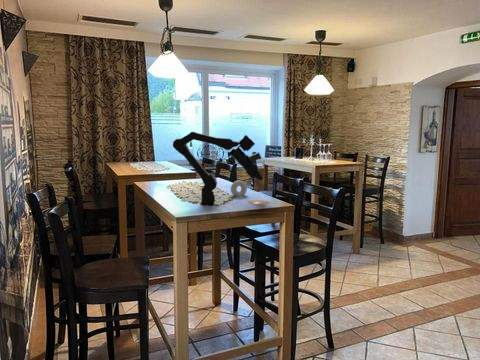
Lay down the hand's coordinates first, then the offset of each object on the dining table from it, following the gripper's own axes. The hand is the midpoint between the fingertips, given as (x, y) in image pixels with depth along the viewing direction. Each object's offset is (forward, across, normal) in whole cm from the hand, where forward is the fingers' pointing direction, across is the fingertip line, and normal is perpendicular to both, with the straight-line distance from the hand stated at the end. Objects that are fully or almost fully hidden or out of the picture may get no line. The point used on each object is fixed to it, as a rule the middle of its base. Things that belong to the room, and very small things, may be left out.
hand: (261, 178), depth 202 cm
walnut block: (+3, 0, +5) cm, 6 cm away
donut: (+2, +18, +18) cm, 26 cm away
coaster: (+9, 0, +10) cm, 13 cm away
